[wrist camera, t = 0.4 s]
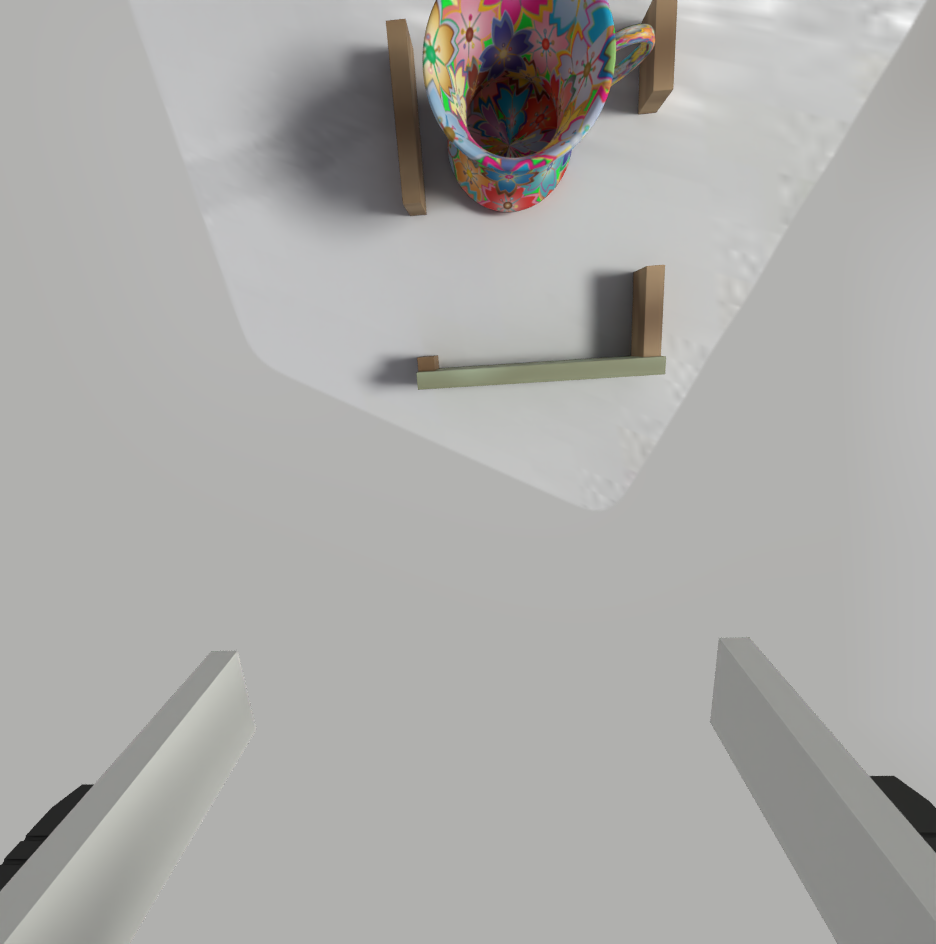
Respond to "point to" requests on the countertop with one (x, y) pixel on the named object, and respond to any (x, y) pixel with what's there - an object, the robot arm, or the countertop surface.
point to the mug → (521, 88)
